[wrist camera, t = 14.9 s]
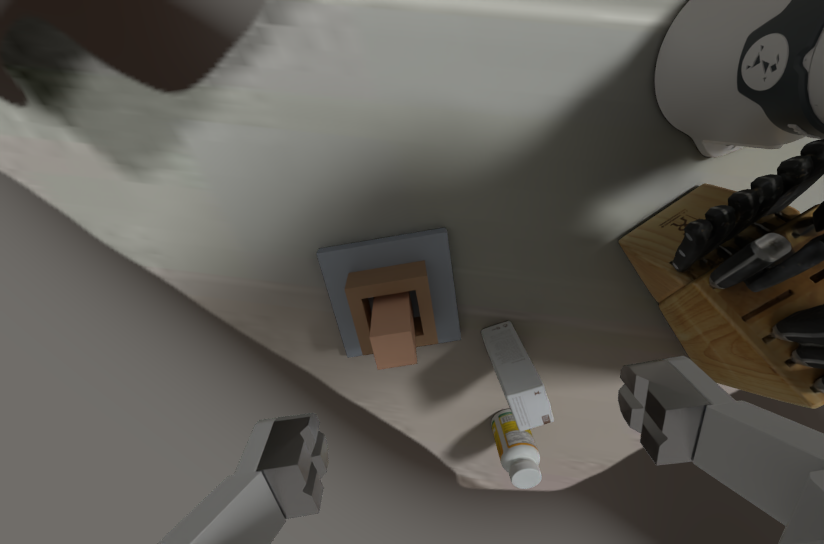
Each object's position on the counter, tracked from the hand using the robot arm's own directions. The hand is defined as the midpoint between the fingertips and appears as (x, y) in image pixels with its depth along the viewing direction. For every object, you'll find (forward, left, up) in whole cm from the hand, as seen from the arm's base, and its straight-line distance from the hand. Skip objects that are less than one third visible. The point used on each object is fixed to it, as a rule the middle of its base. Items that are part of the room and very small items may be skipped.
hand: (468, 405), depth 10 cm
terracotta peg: (+5, +15, -33) cm, 36 cm away
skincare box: (-8, +25, -34) cm, 43 cm away
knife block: (-31, +17, -34) cm, 49 cm away
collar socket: (+5, +15, -34) cm, 38 cm away
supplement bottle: (-8, +40, -34) cm, 53 cm away
